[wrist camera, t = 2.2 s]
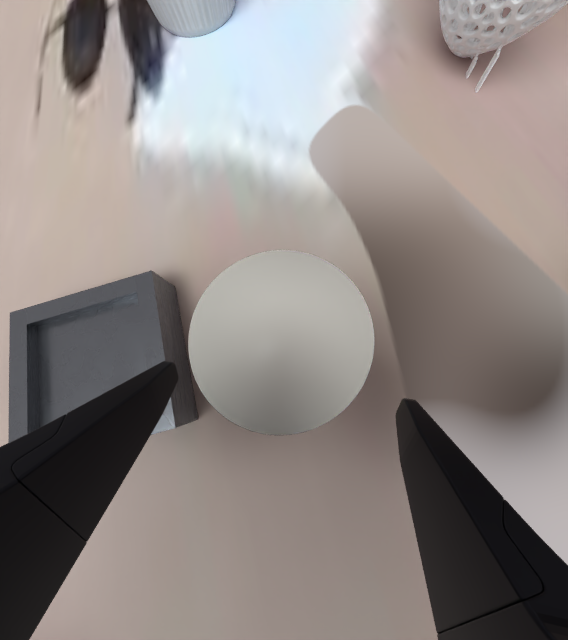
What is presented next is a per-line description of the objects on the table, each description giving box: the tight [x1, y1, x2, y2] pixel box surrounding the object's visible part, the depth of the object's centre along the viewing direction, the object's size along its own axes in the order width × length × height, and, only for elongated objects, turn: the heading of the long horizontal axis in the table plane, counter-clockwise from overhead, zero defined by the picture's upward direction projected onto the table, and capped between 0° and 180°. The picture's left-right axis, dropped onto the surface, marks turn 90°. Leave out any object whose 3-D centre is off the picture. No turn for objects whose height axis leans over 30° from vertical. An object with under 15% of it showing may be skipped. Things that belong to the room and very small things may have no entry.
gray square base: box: [9, 271, 198, 443], centre depth 18 cm, size 11×11×3 cm
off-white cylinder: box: [188, 250, 374, 435], centre depth 13 cm, size 5×5×12 cm
